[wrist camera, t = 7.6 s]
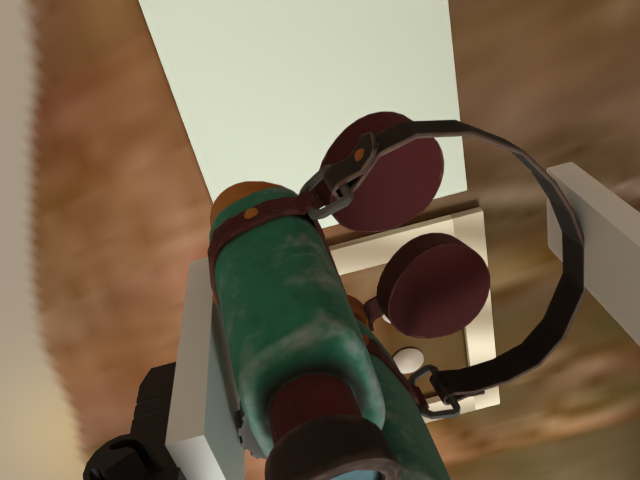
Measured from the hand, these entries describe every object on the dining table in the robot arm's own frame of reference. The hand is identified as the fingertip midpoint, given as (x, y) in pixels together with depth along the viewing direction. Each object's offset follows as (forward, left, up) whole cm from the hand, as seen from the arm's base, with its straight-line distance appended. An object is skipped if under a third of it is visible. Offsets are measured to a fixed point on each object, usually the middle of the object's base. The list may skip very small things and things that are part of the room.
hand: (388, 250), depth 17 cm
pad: (0, 0, -17) cm, 17 cm away
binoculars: (0, 0, -2) cm, 2 cm away
